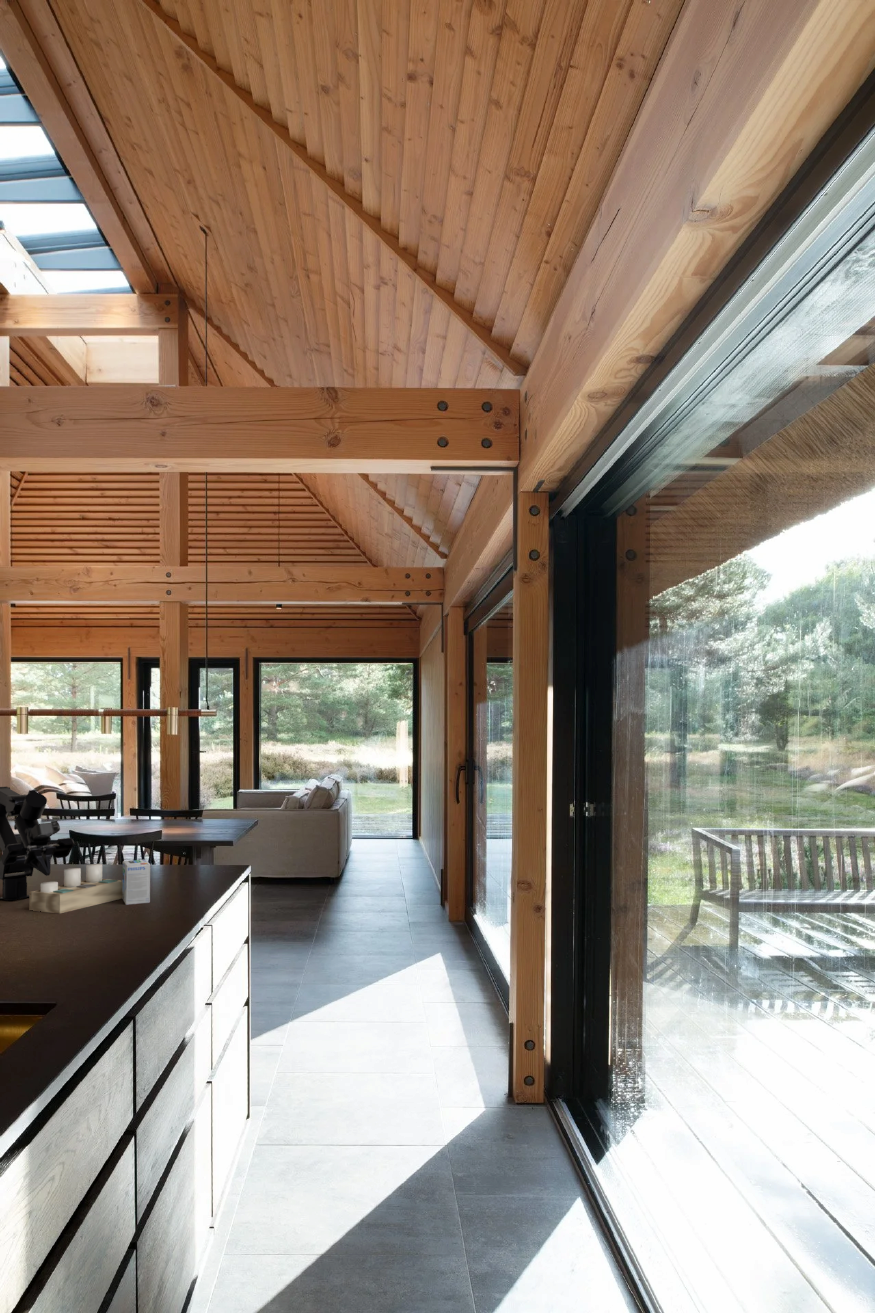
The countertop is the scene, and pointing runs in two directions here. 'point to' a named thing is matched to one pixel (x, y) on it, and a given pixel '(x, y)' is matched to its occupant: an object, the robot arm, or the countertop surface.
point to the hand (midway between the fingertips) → (48, 874)
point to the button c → (93, 873)
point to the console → (76, 896)
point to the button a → (49, 887)
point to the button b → (72, 877)
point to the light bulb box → (136, 882)
